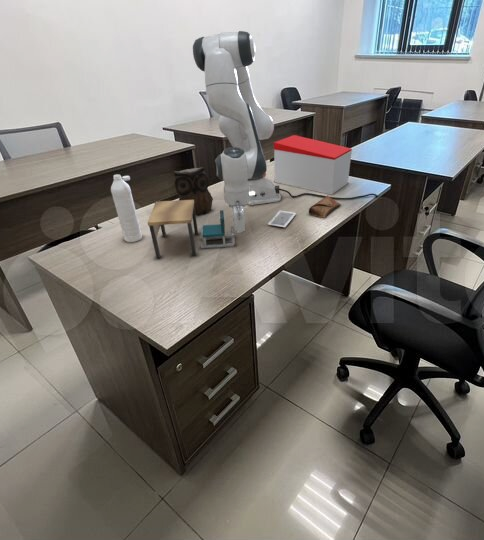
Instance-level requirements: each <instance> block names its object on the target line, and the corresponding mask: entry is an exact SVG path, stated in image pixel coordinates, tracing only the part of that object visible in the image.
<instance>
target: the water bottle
mask: <svg viewBox="0 0 484 540" xmlns="http://www.w3.org/2000/svg"><path fill="white" fill-rule="evenodd" d="M130 180H131V176H130V175H124V176H122V175H121V174H118V173H117V174H114V175H113V181H112V184H111V186H110V193H111V196H112V200H113V203H114V207H115V210H116V214H117V219H118V221H119V224H120V228H121V233H122V236H123V239H124V241H125V242H127V243H135V242H138V241H140V240H141V239H142V238H143V234H142V231H141V226H140V222H139V218H138V214H137V210H136V206H135V202H134V198H133V194H132V190H131V186H130V185H129V183H127V182H128V181H130ZM126 181H127V182H126Z"/></svg>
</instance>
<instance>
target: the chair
mask: <svg viewBox="0 0 484 540" xmlns="http://www.w3.org/2000/svg"><path fill="white" fill-rule="evenodd" d="M219 222H220V223H219V224H218V223H217V224H205V225H203V224H202V233H201V234H202V235H201V236H202V237H201V241H203V244H201V245H200V248H201V249H211V248H214V249H215V248H227V247H234V246H235V245H236V239H235V235H236V233H235V229H234V225H233V226H230V233H231V234H229V235H226V227H225V226H226V224H225V214H224V209H222V210H221V209H220V210H219ZM226 239H231V242H228V243H226ZM209 240H210V241H211V240H222V243H213V244H207V241H209Z"/></svg>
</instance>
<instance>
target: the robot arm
mask: <svg viewBox="0 0 484 540" xmlns="http://www.w3.org/2000/svg"><path fill="white" fill-rule="evenodd" d="M192 56H193V60H194V63H195V65H196V67H197V68H198V69H199V70H200V71H202V72H204V84H205V92H206V98H207V103H208V105H209V106H210V108H211V109H212V110H213V111H214V112H215V113H217V114H219V115H220V116H219V119H218V129H219V131H220V133H222V134H223V135H224V137H226V139H227V140H228V141H229V144H230V145H231V147H227V148H224V150H223V151H222V153H220V154H218V156H217V157H216V158H215V160H214V162H215V167H216V168H215V169H216V170H215V171H216V173H215V175H216V177H217V178H218V179H219V180H220V181H222V182H224V183H223V194H224V195H223V197H224V203H225V204H227V205H228V207H229V208H231V209H232V217H233V226H234V232H236V233H237V234H242V232H245V230H246V219H245V211H244V210H245V209H244V208H245V207H246V206H255V205H262V204H268V203H269V204H270V203H278V202H280V201H281V199H282V196H281V192H283V193H284V192H285V193H287V194H288V196H290V197H291V198H300V197H302V196H314V197H318V198H319V197H320V198H325V197H326V196H327V195H323V194H316V193H311V192H303V193H299V194H298V195H292V193H291V192H290V191H289V190H286V189H283V188H280V185H276V184H275V182H273V181H272V180H270V179H269V178H268V177H266V176H267V168H268V166H267V165H268V164H267V161H266V158H265V153H264V151H263V148H262V145H261V141H262V140H263V141H264V140H268V139H270V138H271V137H272V135H273V133H274V131H275V124H274V119H272V117H271V115H269V114H268V113H266V112H265V111H264V110H263V109H262V107H261V106H260V104H259V103H258V101H257V100H256V97H255V95H254V91H253V87H252V83H251V77H250V73H249V72H250V71H249V68H248V67H249V66H251V65H253V63H254V61H255V58H256V44H255V41H254V39H253V37H252V35H251V34H250V33H249V32H248V31H244V30H239V31H225V32H220V33H217V34H212V35H208V36H201V37H198V38H197V39H195V40H194V42H193V44H192ZM370 196H374V197H376V198H379V195H377V194H376V193H368V194H364V195H358V196H357V195H356V196H352V197H351V196H350V197H335V196H329V197H330V198H332V199H333V200H355V199H361V198H365V197H370Z"/></svg>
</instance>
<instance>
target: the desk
mask: <svg viewBox="0 0 484 540" xmlns="http://www.w3.org/2000/svg"><path fill="white" fill-rule="evenodd" d="M179 224H180V225H182V224H183V225H184V224H187V225H186V226H187V231H188V236H189V242H190V248H191V255H192V257H196V256H197V252H196V244H195V239H194V238H195V237H194V235H195V236H198V235H199V228H198V223H197V215H196V214H195V207H194V200H179V199H177V200H162V201H155V202H154V204H153V207H152V210H151V212H150V215H149V217H148V220H147V226H148V227H149V232H150V236H151V240H152V245H153V249H154V253H155V257H156V259H157V260H158V259H161V257H162V256H161V253H160V248H159V244H158V235H159V231H160V230H161V234H162V235H161V236H162V238H166V237H167V232H166V227H165V226H166V225H179Z"/></svg>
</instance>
